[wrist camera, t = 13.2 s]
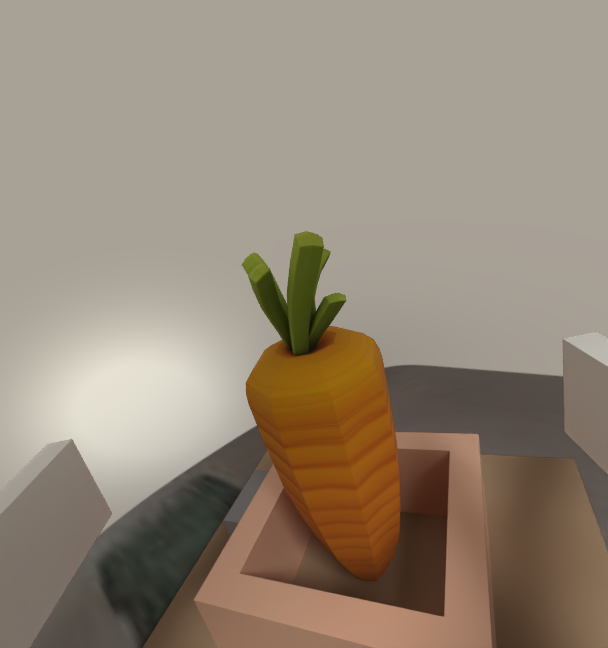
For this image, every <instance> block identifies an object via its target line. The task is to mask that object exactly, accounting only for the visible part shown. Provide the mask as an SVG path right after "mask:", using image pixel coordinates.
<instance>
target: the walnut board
mask: <svg viewBox="0 0 608 648" xmlns="http://www.w3.org/2000/svg"><path fill="white" fill-rule="evenodd" d="M481 461H482V470H483V479H484V488H485V497H486V508H487V522H488V536H489V550H490V564H491V577H492V591H493V605H494V619H495V633H496V647H497V648H608V551H607V548H606V545H605V542H604V540H603V537H602V534H601V531H600V529H599V526H598V523H597V520H596V518H595V515H594V512H593V509H592V506H591V504H590V501H589V498H588V495H587V493H586V490H585V487H584V484H583V482H582V479H581V476H580V473H579V471H578V468H577V465H576V462H575V460H574V459H570V458H548V457H526V456H504V455H482V454H481ZM272 465H273V462H272V460H271V457H270V455H269V453H268V451H266V453H265V455H264V456H263V458H262V459H261V461H260V463H259V464H258V466H257V467H256V469H255V470H263V471H269V470H270V469H271V467H272ZM251 476H252V475H251ZM249 479H250V478H249ZM246 484H247V483H246ZM244 487H245V486H244ZM239 495H240V494H239ZM237 498H238V497H237ZM234 503H235V502H234ZM232 506H233V505H232ZM229 511H230V510H229ZM227 514H228V513H227ZM225 517H226V516H225ZM447 521H448V517H443V516H434V515H425V514H416V513H407V512H400V534H399V539H398V542H397V546H396V550H395V553H394V557H393V558H392V560H391V562H390V564H389V566H388V568H387V569H386V571H385V573H384V574H383V575H382V576H381V577H380V578H379V579H378V580H377V581H364V580H363V579H361V578H359V577H357V576H355V575H354V574H352V573H351V572H350V571H349V570H347V569H346V568H345V567H344V566H343V565H342V564H341V563H340V562H339V561H338V560H337V559H336V558H335V557H334V556H333V555H332V554H331V552H330V551H329V550H328V549H327V548H326V547H325V546H324V545H323V544H322V543H321V542H320V541H319V540H318V539H317V538H316V536H315V535H314V533H313V532H312V534H311V536H310V539H309V542H308V544H307V547H306V549H305V552H304V555H303V557H302V560H301V563H300V565H299V568H298V570H297V573H296V576H295V578H294V581H293V584H292V585H296V586H301V587H306V588H310V589H315V590H320V591H324V592H329V593H334V594H338V595H343V596H348V597H353V598H357V599H362V600H367V601H371V602H376V603H381V604H385V605H390V606H395V607H399V608H404V609H409V610H414V611H418V612H423V613H428V614H432V615H437V616H442V617H444V609H445V580H446V550H447ZM229 539H230V536H229V533H228V531H227V528H226V526H225V524H224V521H222V523H221V524H220V526H219V528H218V529H217V531H216V532H215V534H214V535H213V537H212V539H211V540H210V542H209V543H208V545H207V547H206V548H205V550H204V551H203V553H202V554H201V556H200V558H199V559H198V561H197V562H196V564H195V566H194V567H193V569H192V570H191V572H190V573H189V575H188V577H187V578H186V580H185V581H184V583H183V585H182V586H181V588H180V589H179V591H178V592H177V594H176V596H175V597H174V599H173V600H172V602H171V604H170V605H169V607H168V608H167V610H166V611H165V613H164V615H163V616H162V618H161V619H160V621H159V623H158V624H157V626H156V627H155V629H154V630H153V632H152V634H151V635H150V637H149V638H148V640H147V642H146V643H145V645H144V646H143V648H217V646H216V644H215V642H214V640H213V638H212V636H211V634H210V632H209V630H208V628H207V626H206V624H205V622H204V620H203V618H202V616H201V614H200V612H199V610H198V608H197V606H196V604H195V602H194V599H195V597H196V595H197V593H198V592H199V590H200V588H201V587H202V585H203V583H204V581H205V580H206V578H207V576H208V575H209V573H210V571H211V570H212V568H213V566H214V564H215V563H216V561H217V559H218V558H219V556H220V554H221V552H222V551H223V549H224V547H225V546H226V544H227V542H228V540H229Z"/></svg>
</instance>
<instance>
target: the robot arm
mask: <svg viewBox="0 0 608 648" xmlns="http://www.w3.org/2000/svg"><path fill="white" fill-rule="evenodd" d="M563 379H564V427H565V433H566V434H567V435H568V436H569V437H570V438H571V439H572V440H573V441H574V442H575V443H576V444H577V445H578V446H579V447H580V448H581V449H582V450H583V451H584V452H585V453H586V454H587V455H589V456H590V457H591V458H592V459H593V460H594V461H595V462H596V463H597V464H598V465H599V466H600V467H601V468H602V469H603V470H604V471H605V472H606V473H607V474H608V338H607V337H605V336H603V335H601V334H599V333H597V332H592V333H587V334H582V335H577V336H572V337H567V338H563ZM111 514H112V512H111V511H110V508H109V507H108V505H107V503H106V501H105V499H104V498H103V496H102V494H101V492H100V490H99V488H98V486H97V484H96V483H95V481H94V479H93V477H92V475H91V473H90V471H89V470H88V468H87V466H86V464H85V462H84V460H83V458H82V457H81V455H80V453H79V451H78V450H77V447H76V446H75V444H74V442H73V440H72V439H70V440H65V441H60V442H56V443H51V444H47V445H46V446H45V447H44V448H43V449H42V450H41V451H40V452H39V453H38V454H37V455H36V456H35V457H34V458H33V459H32V460H31V461H30V462H29V463H28V464H27V465H25V466H24V467H23V468H22V469H21V470H20V471H19V473H17V474H16V475H15V476H14V477H13V478H12V479H11V480H10V481H9V482H8V483H7V484H6V485H5V486H4V487H3V488H2V489H1V490H0V648H30V647H31V645H32V643H33V642H34V640H35V638H36V637H37V635H38V633H39V632H40V630H41V629H42V627H43V625H44V624H45V622H46V620H47V619H48V617H49V616H50V614H51V612H52V611H53V609H54V607H55V606H56V604H57V603H58V601H59V599H60V598H61V596H62V594H63V593H64V591H65V589H66V588H67V586H68V585H69V583H70V581H71V580H72V578H73V576H74V575H75V573H76V572H77V570H78V568H79V567H80V565H81V563H82V562H83V560H84V558H85V557H86V555H87V554H88V552H89V550H90V549H91V547H92V545H93V544H94V542H95V541H96V539H97V537H98V536H99V534H100V532H101V531H102V529H103V528H104V526H105V524H106V523H107V521H108V519H109V518H110V516H111Z"/></svg>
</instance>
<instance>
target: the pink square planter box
mask: <svg viewBox="0 0 608 648" xmlns="http://www.w3.org/2000/svg"><path fill="white" fill-rule="evenodd" d="M395 433H396V440H397V449H398V464H399V479H400V512H407V513H416V514H425V515H434V516H443V517H448V521H447V550H446V580H445V609H444V617H442V616H437V615H432V614H428V613H423V612H418V611H414V610H409V609H404V608H399V607H395V606H390V605H385V604H381V603H376V602H371V601H367V600H362V599H357V598H353V597H348V596H343V595H338V594H334V593H329V592H324V591H320V590H315V589H310V588H306V587H301V586H296V585H292V584H293V581H294V578H295V576H296V573H297V570H298V568H299V565H300V563H301V560H302V557H303V555H304V552H305V549H306V547H307V544H308V542H309V539H310V536H311V534H312V530H311V529H310V527H309V526H308V524H307V523H306V522H305V520H304V519H303V517H302V516H301V514H300V513H299V511H298V509H297V508H296V506H295V505H294V503H293V501H292V500H291V498H290V496H289V495H288V493H287V491H286V490H285V488H284V487H283V484H282V482H281V480H280V478H279V475H278V473H277V471H276V469H275V466H274V464H273V465H272V467H271V469H270V470H269V471H263V470H255V471H254V472H253V474H252V476H251V477H250V479H249V480H248V482H247V484H246V485H245V487H244V488H243V490H242V491H241V493H240V495H239V496H238V498H237V499H236V501H235V503H234V504H233V506H232V507H231V509H230V511H229V512H228V514H227V515H226V517H225V518H224V520H223V521H224V524H225V526H226V528H227V531H228V533H229V536H230V539H229V540H228V542H227V544H226V546H225V547H224V549H223V551H222V552H221V554H220V556H219V558H218V559H217V561H216V563H215V564H214V566H213V568H212V570H211V571H210V573H209V575H208V576H207V578H206V580H205V581H204V583H203V585H202V587H201V588H200V590H199V592H198V593H197V595H196V597H195V599H194V602H195V604H196V606H197V608H198V610H199V612H200V614H201V616H202V618H203V620H204V622H205V624H206V626H207V628H208V630H209V632H210V634H211V636H212V638H213V640H214V642H215V644H216V646H217V648H497V647H496V633H495V619H494V605H493V591H492V577H491V564H490V550H489V536H488V522H487V508H486V497H485V488H484V479H483V470H482V461H481V452H480V443H479V434H458V433H419V432H395Z"/></svg>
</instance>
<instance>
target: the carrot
mask: <svg viewBox="0 0 608 648" xmlns="http://www.w3.org/2000/svg"><path fill="white" fill-rule="evenodd" d="M323 248H324V245H323V239H322V237H320V236H319V235H318V234H314V233H311V232H302V233H299V234H295V237H294V243H293V248H292V254H291V259H290V268H289V277H288V287H287V303H286V301H285V299H284V297H283V295H282V293H281V291H280V289H279V287H278V285H277V283H276V281H275V278H274V276H273V274H272V273H271V271H270V268H269V267H268V266H267V265H266V263H265V262H264V261H263V259H262V258H261V257H260V256H259V255H258V254H257V253H252V254H250V256H248V257H247V258H246V259H245V260H244V262H243V263H242V266H243V267H244V269H245V271H246V272H247V274H248V277H249V280H250V283H251V286H252V289H253V291H254V293H255V295H256V298H257V300H258V302H259V304H260V306H261V308H262V310H263V311H264V313H265V314H266V316H267V317H268V319H269V320H270V322H271V323H272V325H273V326H274V327H275V329H276V330H277V332H278V333H279V335H280V336H281V338H282V340H281V341H279V342H277V343H275V344H273V345H271V346H270V347H268V348H267V349H266V350H265V351H264V352H263V354H262V356H261V357H260V359H259V361H258V362H257V364H256V365H255V367H254V369H253V370H252V372H251V374H250V376H249V378H248V380H247V382H246V395H247V399H248V403H249V406H250V409H251V411H252V414H253V416H254V419H255V421H256V424H257V426H258V429H259V431H260V434H261V436H262V439H263V441H264V443H265V446H266V448H267V451H268V453H269V455H270V457H271V460H272V462H273V464H274V466H275V469H276V471H277V473H278V475H279V478H280V480H281V482H282V484H283V487H284V488H285V490H286V491H287V493H288V495H289V496H290V498H291V500H292V501H293V503H294V505H295V506H296V508H297V509H298V511H299V513H300V514H301V516H302V517H303V519H304V520H305V522H306V523H307V524H308V526H309V527H310V529H311V530H312V532H313V533H314V535H315V536H316V538H317V539H318V540H319V541H320V542H321V543H322V544H323V545H324V546H325V547H326V548H327V549H328V550H329V551H330V552H331V554H332V555H333V556H334V557H335V558H336V559H337V560H338V561H339V562H340V563H341V564H342V565H343V566H344V567H345V568H346V569H347V570H349V571H350V572H351V573H352V574H354V575H355V576H357V577H359V578H361V579H363V580H364V581H377V580H378V579H379V578H380V577H381V576H382V575H383V574H384V573H385V571H386V569H387V568H388V566H389V564H390V562H391V560H392V558H393V557H394V553H395V550H396V546H397V542H398V539H399V534H400V479H399V464H398V449H397V440H396V433H395V427H394V420H393V414H392V407H391V401H390V396H389V391H388V385H387V380H386V375H385V370H384V364H383V359H382V356H381V353H380V350H379V347H378V346H377V344H376V342H375V341H374V340H373V339H372V338H370V337H368V336H367V335H365V334H363V333H359V332H355V331H351V330H347V329H343V328H338V327H332V326H329V325H330V324H331V322H332V321H333V319H334V318H335V316H336V315H337V313H338V312H339V311H340V309H341V307H342V306H343V305H344V303H345V302H346V296H345V295H343V294H340V293H335V294H331V295H329V296H326V297H324V299H323V300H322V302H321V304H320V305H319V307H318V309H317V311H316V307H315V293H316V288H317V284H318V280H319V277H320V273H321V271H322V269H323V268H324V266H325V264H326V262H327V260H328V258H329V255H330V251H328V250H326V249H323Z"/></svg>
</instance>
